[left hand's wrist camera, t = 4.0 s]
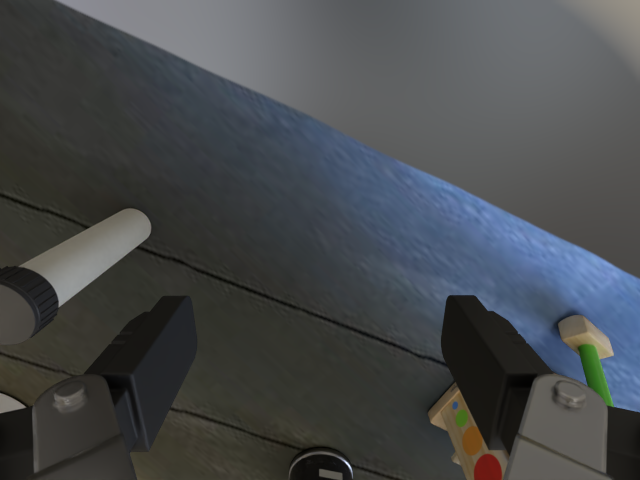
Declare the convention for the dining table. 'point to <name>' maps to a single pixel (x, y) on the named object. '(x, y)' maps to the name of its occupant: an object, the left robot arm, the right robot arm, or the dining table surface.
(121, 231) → the jar
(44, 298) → the lid
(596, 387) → the pounding bench toy
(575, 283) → the dining table surface
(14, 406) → the right robot arm
